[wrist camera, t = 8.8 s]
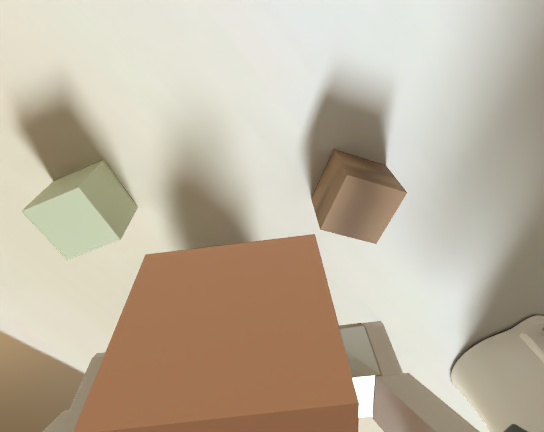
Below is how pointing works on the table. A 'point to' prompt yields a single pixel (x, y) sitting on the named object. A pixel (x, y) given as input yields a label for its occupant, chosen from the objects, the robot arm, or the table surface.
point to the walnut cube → (356, 197)
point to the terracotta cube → (226, 346)
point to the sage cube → (82, 210)
